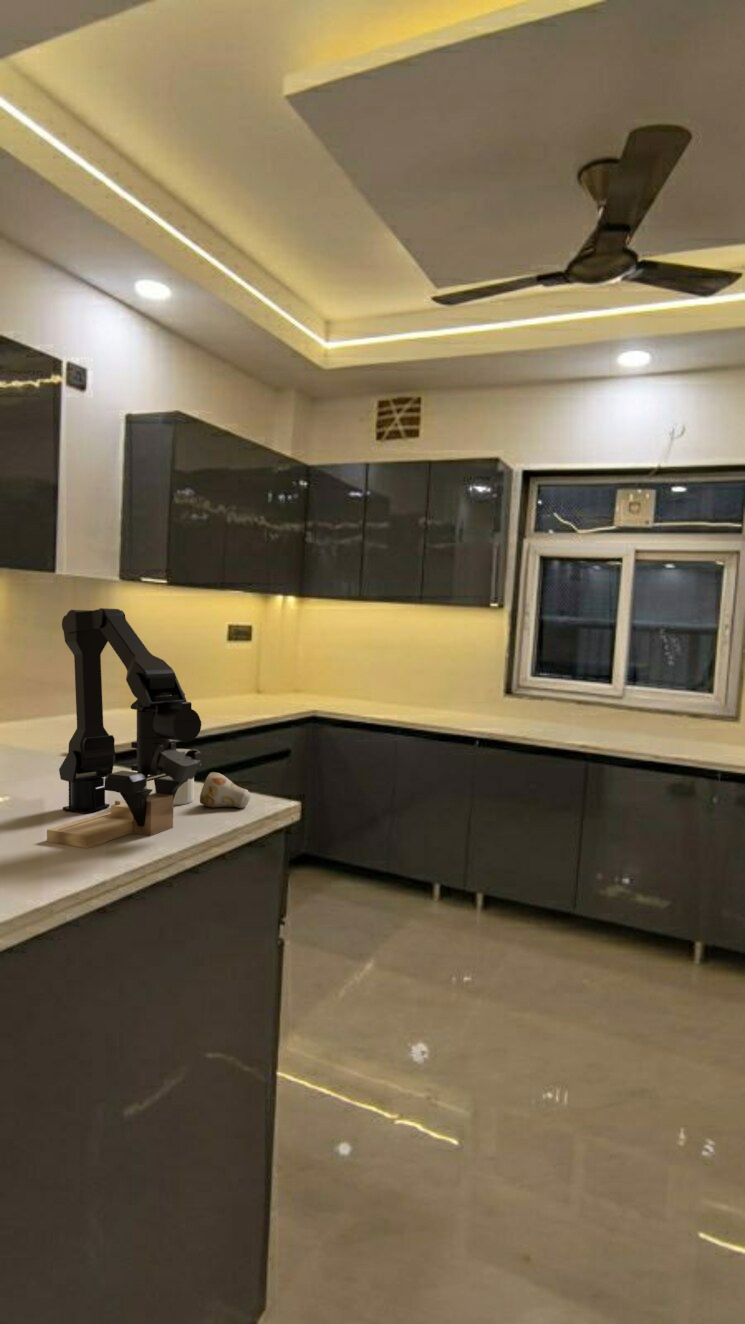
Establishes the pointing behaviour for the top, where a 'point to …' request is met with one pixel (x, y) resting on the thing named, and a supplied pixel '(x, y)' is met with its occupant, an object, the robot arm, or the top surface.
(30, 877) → the top surface
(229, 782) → the patterned white vase
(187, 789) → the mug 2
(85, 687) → the robot arm
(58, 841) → the board
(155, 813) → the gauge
